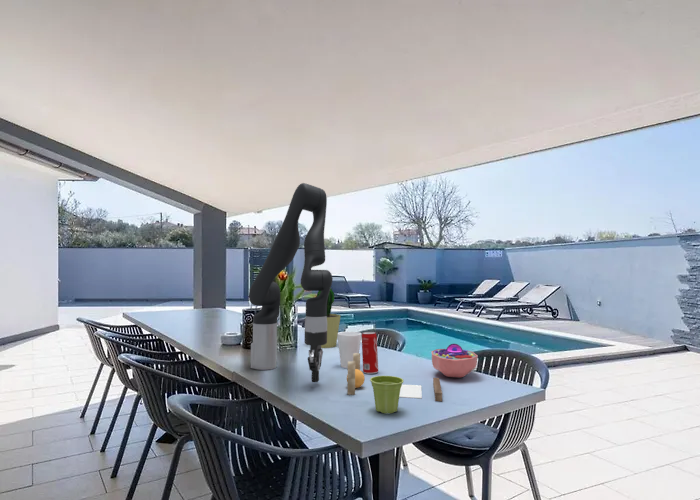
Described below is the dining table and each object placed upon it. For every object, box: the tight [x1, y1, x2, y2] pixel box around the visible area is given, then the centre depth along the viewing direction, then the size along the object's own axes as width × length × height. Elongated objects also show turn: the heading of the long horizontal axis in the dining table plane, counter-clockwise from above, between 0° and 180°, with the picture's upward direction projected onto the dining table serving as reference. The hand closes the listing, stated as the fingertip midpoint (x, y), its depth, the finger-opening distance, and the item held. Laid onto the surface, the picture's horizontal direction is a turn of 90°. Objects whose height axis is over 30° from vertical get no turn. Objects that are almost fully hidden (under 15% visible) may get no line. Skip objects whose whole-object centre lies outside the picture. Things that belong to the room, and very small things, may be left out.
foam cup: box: [337, 331, 362, 369], centre depth 182 cm, size 10×9×13 cm
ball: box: [346, 369, 366, 389], centre depth 152 cm, size 6×6×6 cm
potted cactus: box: [315, 287, 341, 349], centre depth 224 cm, size 15×15×30 cm
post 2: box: [353, 352, 361, 371], centre depth 158 cm, size 2×2×10 cm
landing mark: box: [399, 383, 423, 399], centre depth 149 cm, size 14×14×1 cm
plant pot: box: [369, 375, 404, 414], centre depth 130 cm, size 9×9×9 cm
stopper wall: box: [432, 377, 443, 402], centre depth 147 cm, size 2×18×2 cm, turn 172°
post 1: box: [346, 361, 356, 396], centre depth 145 cm, size 2×2×10 cm
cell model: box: [430, 343, 479, 379], centre depth 169 cm, size 17×20×11 cm
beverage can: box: [361, 331, 379, 375], centre depth 173 cm, size 6×6×15 cm
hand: (315, 381), depth 153 cm, fingers closed
